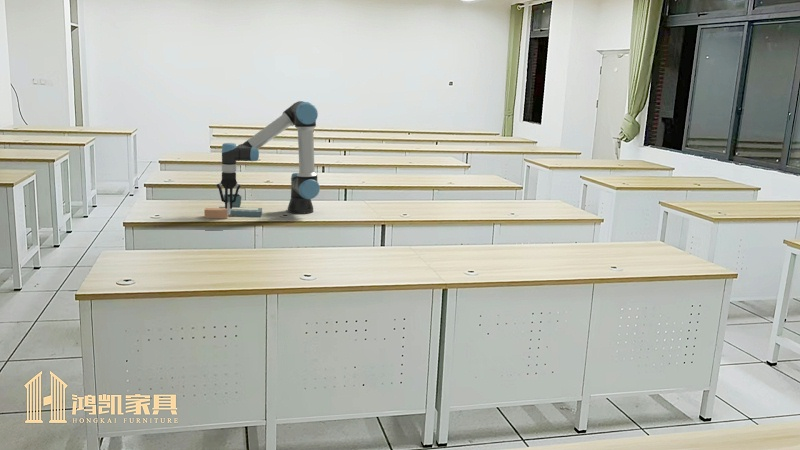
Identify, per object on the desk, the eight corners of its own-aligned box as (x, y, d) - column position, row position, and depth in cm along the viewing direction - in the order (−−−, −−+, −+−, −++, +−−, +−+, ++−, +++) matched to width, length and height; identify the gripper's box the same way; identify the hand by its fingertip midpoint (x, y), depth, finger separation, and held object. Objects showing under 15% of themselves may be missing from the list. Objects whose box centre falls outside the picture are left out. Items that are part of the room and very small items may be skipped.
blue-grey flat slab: (262, 213, 388) (262, 207, 388) (260, 217, 378) (261, 211, 377) (219, 212, 385) (219, 206, 384) (216, 215, 374) (216, 210, 373)
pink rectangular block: (228, 216, 374) (228, 208, 373) (227, 218, 369) (227, 210, 368) (205, 215, 373) (205, 207, 372) (204, 217, 367) (204, 209, 366)
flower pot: (223, 209, 393) (223, 194, 391) (238, 208, 397) (238, 193, 395) (226, 212, 385) (226, 196, 384) (241, 211, 389) (241, 196, 387)
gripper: (241, 171, 369) (241, 213, 374) (217, 170, 367) (217, 212, 372) (240, 173, 362) (240, 216, 367) (215, 172, 360) (215, 215, 365)
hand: (228, 214), depth 370 cm, fingers closed
